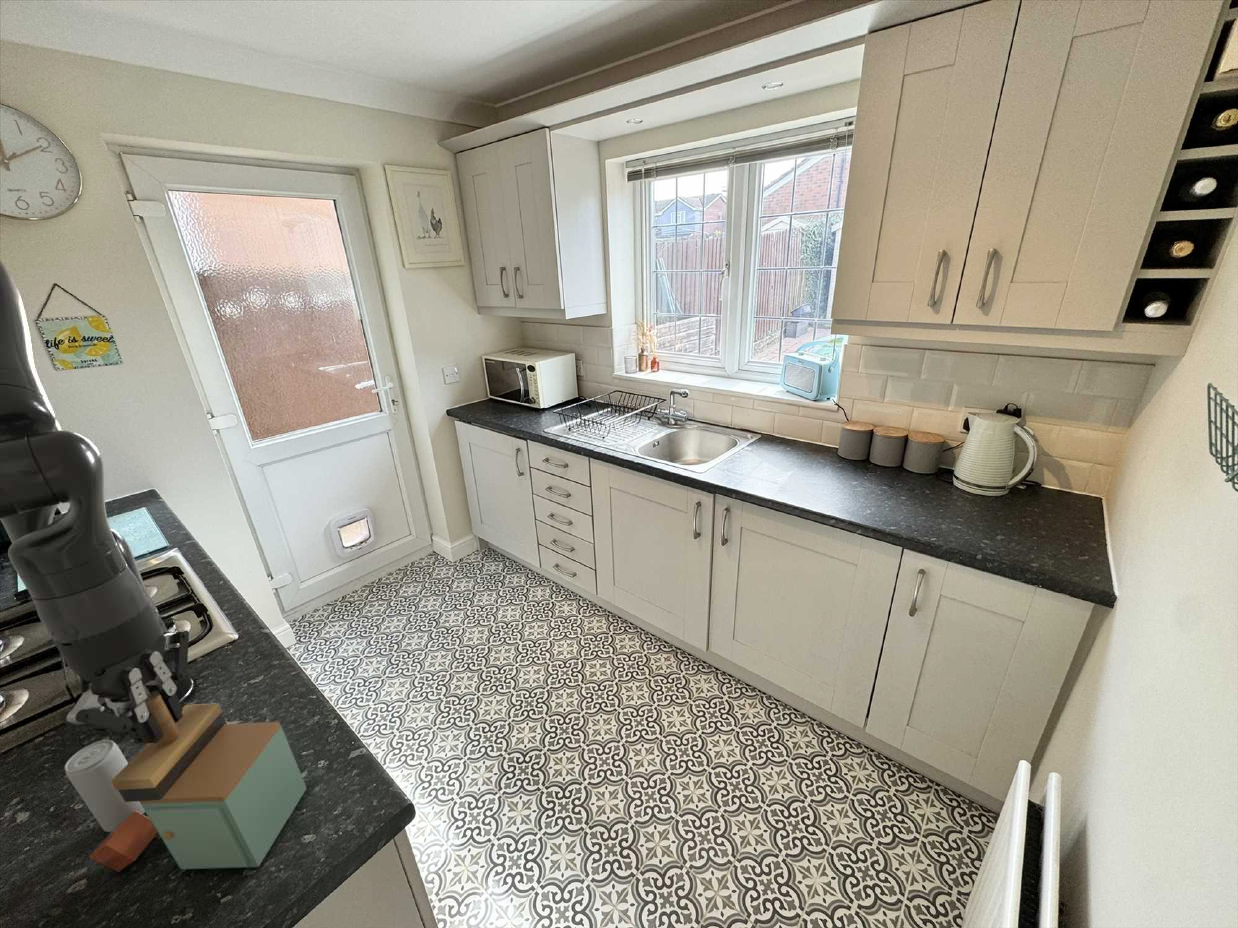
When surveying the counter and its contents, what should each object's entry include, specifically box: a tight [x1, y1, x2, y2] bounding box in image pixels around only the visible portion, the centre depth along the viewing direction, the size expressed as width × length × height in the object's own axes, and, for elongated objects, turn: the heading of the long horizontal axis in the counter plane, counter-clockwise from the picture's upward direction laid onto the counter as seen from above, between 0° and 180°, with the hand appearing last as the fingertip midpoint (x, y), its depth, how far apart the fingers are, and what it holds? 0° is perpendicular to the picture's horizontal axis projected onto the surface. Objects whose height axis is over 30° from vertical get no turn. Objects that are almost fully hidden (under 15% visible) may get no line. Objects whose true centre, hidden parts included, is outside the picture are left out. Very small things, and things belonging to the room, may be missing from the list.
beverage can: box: [64, 739, 146, 833], centre depth 65 cm, size 5×5×12 cm
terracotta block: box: [88, 811, 159, 873], centre depth 61 cm, size 4×4×4 cm
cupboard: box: [139, 721, 308, 870], centre depth 62 cm, size 11×10×13 cm
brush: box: [111, 692, 227, 802], centre depth 58 cm, size 4×10×10 cm, turn 1°
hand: (162, 729), depth 58 cm, fingers closed on brush, 2 cm apart
